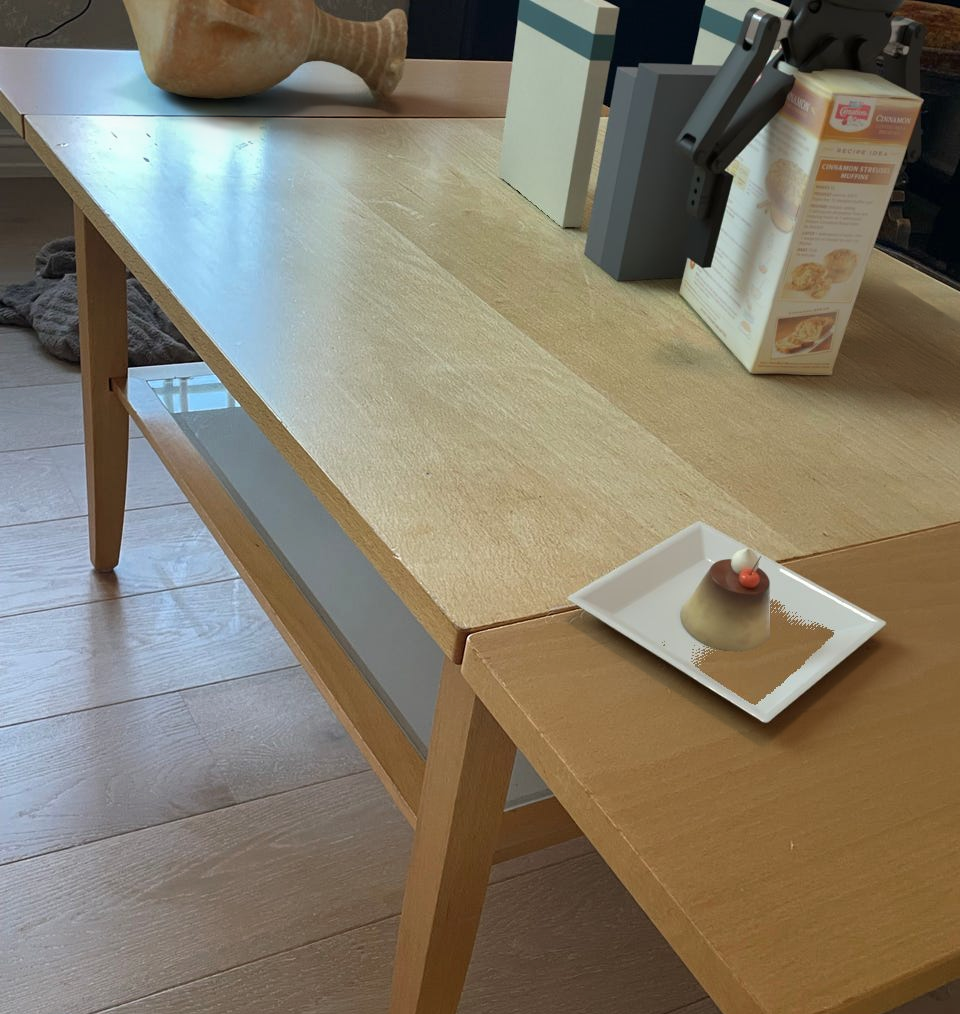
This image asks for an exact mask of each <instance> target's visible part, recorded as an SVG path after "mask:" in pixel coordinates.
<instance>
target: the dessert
mask: <svg viewBox="0 0 960 1014" xmlns="http://www.w3.org/2000/svg"><path fill="white" fill-rule="evenodd" d="M772 599H773V602H774V601H775V600H777V602H779V601H780V603H778V605H779V604H781V606H782V605H785V606H783V607H782V609H781V611H782V610H783V609H784V607H785V609H784V610H783V611H782V612H783V613H784V612H785V611H786V614H787V613H788V612H789V611H790V612H789V614H788V615H787V617H788V616H789V615H790V617H789V618H788V619H787V621H788V620H789V619H790V618H791V617H792V616H793V615H794V617H792V618H791V621H792V620H793V619H794V618H795V617H796V616H798V617H796V618H795V619H794V620H795V621H796V620H797V619H798V622H799V621H800V620H801V619H802V621H801V622H800V623H799V625H800V624H801V623H802V622H803V621H804V620H805V621H804V622H803V623H802V626H803V625H804V624H805V623H806V626H807V625H808V624H809V626H810V625H811V624H812V623H814V622H816V623H814V624H813V626H814V625H815V624H817V623H819V624H818V625H821V626H820V627H822V626H824V627H823V628H825V627H827V629H830V630H834V631H832V632H834V635H833V637H831V638H830V639H828V641H826V642H825V644H824V645H822V647H821V648H820V649H818V650H817V651H816V652H815V653H813V654H812V656H810V657H809V659H807V660H806V661H805V664H804V665H802V666H801V668H800V669H797V671H796V672H794V673H793V674H791V675H790V676H789V677H788V678H787V679H786V680H785V681H784V683H782V684H781V686H778V687H776V689H774V691H773V692H771V694H767V695H766V697H765V698H764V699H761V701H759V702H758V704H756V705H754V704H751V703H749V702H748V701H746V700H744V699H743V698H741V697H740V696H738V695H737V694H736V693H734V692H732V691H731V690H729V689H727V688H726V687H724V686H723V685H721V684H720V683H718V682H717V681H715V680H714V679H712V678H711V677H709V676H708V675H706V674H705V673H703V672H702V671H700V669H699V668H697V667H695V664H697V663H695V664H693V663H694V662H696V661H698V660H694V659H696V658H698V657H700V656H702V655H704V654H701V653H702V652H704V651H701V650H703V649H705V648H706V647H708V646H710V647H709V648H706V649H705V651H706V650H708V649H710V648H711V647H713V649H715V648H716V649H719V650H723V651H735V652H737V651H740V652H742V651H743V650H744V651H746V650H750V649H755V648H757V647H759V646H761V645H762V644H764V643H765V642H766V641H767V640H768V638H769V636H770V605H771V604H772V603H771V604H770V601H771V600H772ZM567 600H568V601H569V602H570V603H572V604H574V605H575V606H577V607H579V608H580V609H581V610H584V612H586V613H588V614H589V615H592V616H593V617H595V618H596V619H598V620H599V621H601V622H603V623H604V624H605V625H607V626H608V627H610V628H612V629H614V630H615V631H617V632H618V633H620V634H622V635H623V636H624V637H626V638H628V639H630V640H631V641H632V642H634V643H636V644H638V645H639V646H641V647H642V648H644V649H646V650H647V651H649V652H650V653H652V654H654V655H655V656H656V657H659V658H660V659H662V660H663V661H665V662H667V663H668V664H670V666H673V668H676V669H678V670H679V671H680V672H682V673H684V674H685V675H687V676H688V677H690V678H692V679H693V680H695V681H697V682H698V683H700V684H702V686H704V687H706V688H707V689H709V690H711V691H713V692H714V693H715V694H717V695H719V696H721V697H722V698H723V699H725V700H727V701H729V702H730V703H731V704H733V705H734V706H736V707H738V708H739V709H741V710H743V711H744V712H746V713H748V714H749V715H750V716H752V717H753V718H755V719H757V720H759V721H760V722H762V723H765V724H767V723H769V722H770V721H772V719H774V718H775V717H776V716H777V715H778V714H780V713H781V712H782V711H783V710H784V709H786V708H788V707H789V705H791V704H792V703H793V702H794V701H795V700H797V699H798V698H799V697H800V696H801V695H803V694H804V693H806V691H807V690H809V689H810V688H811V687H812V686H814V685H815V684H816V683H817V682H818V681H820V680H821V679H822V678H823V677H824V676H825V675H826V674H828V673H829V672H831V671H832V670H833V669H834V668H835V667H836V666H837V665H839V664H840V663H841V662H843V661H844V660H845V659H846V658H847V657H849V656H850V655H851V654H852V653H853V652H855V651H856V650H857V649H858V648H859V647H861V646H862V645H863V644H864V643H866V642H867V641H868V640H869V639H870V638H871V637H873V636H874V635H875V634H876V633H878V632H879V631H880V630H881V629H883V628H884V626H886V625H887V622H886V621H885V620H884V619H881V618H879V617H877V616H876V615H874V614H872V613H871V612H869V611H867V610H865V609H863V608H861V607H859V606H857V605H856V604H854V603H852V602H850V601H849V600H846V599H845V598H843V597H841V596H839V595H837V594H835V593H833V592H831V591H830V590H828V589H826V588H824V587H822V586H821V585H819V584H817V583H815V582H813V581H812V580H810V579H808V578H806V577H804V576H802V575H800V574H799V573H797V572H795V571H793V570H792V569H790V568H788V567H786V566H784V565H783V564H780V563H778V562H777V561H774V560H773V559H772V558H770V557H768V556H766V555H764V554H763V553H760V552H758V551H756V550H755V549H753V548H751V547H750V546H747V545H746V544H744V543H742V542H740V541H739V540H737V539H735V538H733V537H731V536H729V535H727V534H725V533H724V532H721V531H720V530H719V529H717V528H714V527H713V526H711V525H708V524H707V523H705V522H704V521H702V520H697V521H695V522H694V523H692V524H690V525H689V526H687V527H685V528H683V529H682V530H680V531H677V532H676V533H675V534H673V535H671V536H670V537H668V538H666V539H665V540H663V541H661V542H660V543H658V544H655V545H654V546H652V547H651V548H649V549H647V550H646V551H644V552H642V553H641V554H639V555H637V556H635V557H634V558H632V559H630V560H628V561H626V562H625V563H623V564H621V565H619V566H617V567H616V568H615V569H613V570H611V571H610V572H608V573H606V574H604V575H603V576H601V577H599V578H597V579H596V580H594V581H592V582H591V583H589V584H587V585H586V586H584V587H582V588H580V589H578V590H577V591H575V592H573V593H572V594H570V595H568V596H567ZM777 602H776V603H777ZM776 603H775V604H776ZM775 604H774V605H775ZM781 606H780V607H781ZM780 607H779V608H778V610H779V609H780ZM771 608H772V607H771ZM774 609H776V607H775V608H774ZM773 611H774V610H773ZM773 611H772V612H773ZM781 611H780V612H781ZM772 612H771V613H772ZM776 612H777V611H776ZM776 612H775V613H776ZM780 612H779V613H780ZM792 612H793V613H792ZM796 612H797V613H796ZM795 613H796V614H795ZM786 614H785V615H786ZM785 615H784V616H785ZM784 616H783V617H784ZM800 616H801V617H800ZM808 620H809V621H808ZM791 621H790V622H791ZM811 621H812V622H811ZM790 622H789V623H790ZM798 622H797V623H798ZM793 623H794V622H793ZM793 623H791V625H792V624H793ZM797 623H796V624H797ZM796 624H795V625H796ZM822 624H823V625H822ZM818 625H816V627H817V626H818ZM807 628H808V627H807ZM807 628H806V629H807ZM811 628H812V627H811ZM811 628H810V629H811ZM814 629H815V628H814ZM814 629H813V630H814ZM664 641H665V642H664ZM662 642H663V643H662ZM703 643H704V644H703ZM664 644H665V646H663V645H664ZM694 645H695V646H694ZM703 646H705V647H703ZM699 648H700V650H698V649H699ZM692 649H694V650H692ZM713 649H710V651H711V650H713ZM696 650H697V651H696ZM699 651H700V653H697V652H699ZM715 651H716V650H715ZM692 652H694V653H692ZM708 652H709V651H708ZM708 652H705V654H706V653H708ZM695 653H697V654H695ZM712 653H713V652H712ZM710 654H711V653H710ZM692 655H694V656H692ZM697 655H699V656H698V657H695V656H697ZM706 656H707V655H706ZM704 657H705V656H704ZM704 657H703V658H704ZM691 658H693V659H691ZM700 659H702V658H699V660H700ZM693 660H694V661H693ZM704 660H705V659H704ZM691 661H693V662H691ZM699 662H701V661H698V663H699ZM699 665H701V664H699ZM699 665H698V666H699Z"/></svg>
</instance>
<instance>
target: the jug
mask: <svg viewBox="0 0 960 1014" xmlns="http://www.w3.org/2000/svg"><path fill="white" fill-rule="evenodd" d="M122 2H123V4H124V7H125V9H126V11H127V14H128V18H129V22H130V25H131V28H132V32H133V35H134V38H135V41H136V44H137V48H138V49H137V50H138V53H139V56H140V61H141V63H142V67H143V70H144V72H145V74H146V76H147V77H146V78H148V80H149V81H150V82H151V84H152V85H154V86H155V87H158V88H159V89H161V90H163V91H164V92H168V93H173V94H176V95H180V96H184V97H189V98H198V99H216V100H221V99H222V100H223V99H229V98H231V99H232V98H241V97H247V96H252V95H256V94H260V93H264V92H266V91H268V90H270V89H272V88H274V87H276V86H277V85H279V84H280V83H282V82H283V81H285V80H286V79H288V78H289V77H290V76H291V75H292V74H293V73H294V72H295V71H296V70H297V69H298V68H300V66H302V65H304V64H306V63H312V62H325V63H329V64H334V65H335V66H339V67H341V68H343V69H344V70H346V71H349V72H350V73H352V74H354V75H356V76H358V77H359V78H360V79H362V81H363V82H364V84H365V85H366V86H367V87H368V90H369V92H370V95H371V96H373V97H372V98H373V99H374V100H375V101H376V100H377V101H376V102H379V103H383V102H385V101H387V99H389V97H390V96H391V95H392V94H393V93H394V92H395V90H396V89H397V87H398V85H399V83H400V81H401V79H402V78H403V75H404V70H405V64H406V57H407V47H408V30H409V26H408V19H407V15H406V13H405V11H404V10H403V9H401V8H394V9H391V10H390V11H389V12H387V13H386V14H385V15H384V16H383V17H382V19H379V20H376V21H355V20H348V19H344V18H340V17H336V16H334V15H333V14H330V13H328V12H325V11H324V10H322V9H320V8H319V7H318V6H317V4H316V2H315V1H314V0H122Z"/></svg>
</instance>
